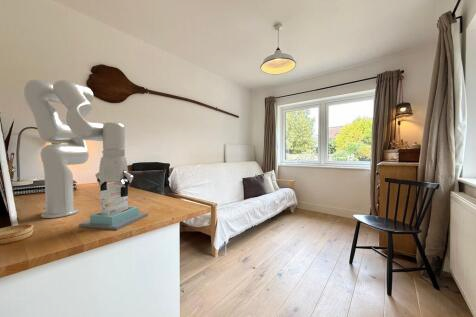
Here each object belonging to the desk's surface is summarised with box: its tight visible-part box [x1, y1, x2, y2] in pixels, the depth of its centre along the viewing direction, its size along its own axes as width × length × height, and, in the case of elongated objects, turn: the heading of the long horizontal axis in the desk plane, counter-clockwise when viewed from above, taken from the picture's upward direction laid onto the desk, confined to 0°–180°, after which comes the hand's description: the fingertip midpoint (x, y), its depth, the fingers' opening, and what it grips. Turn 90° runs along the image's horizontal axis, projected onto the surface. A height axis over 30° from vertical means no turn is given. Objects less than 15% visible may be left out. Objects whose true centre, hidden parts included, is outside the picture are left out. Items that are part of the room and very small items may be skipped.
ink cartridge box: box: [99, 182, 129, 216], centre depth 83 cm, size 9×5×15 cm, turn 153°
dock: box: [78, 205, 149, 231], centre depth 83 cm, size 17×17×4 cm
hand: (114, 195), depth 83 cm, fingers open, 9 cm apart
